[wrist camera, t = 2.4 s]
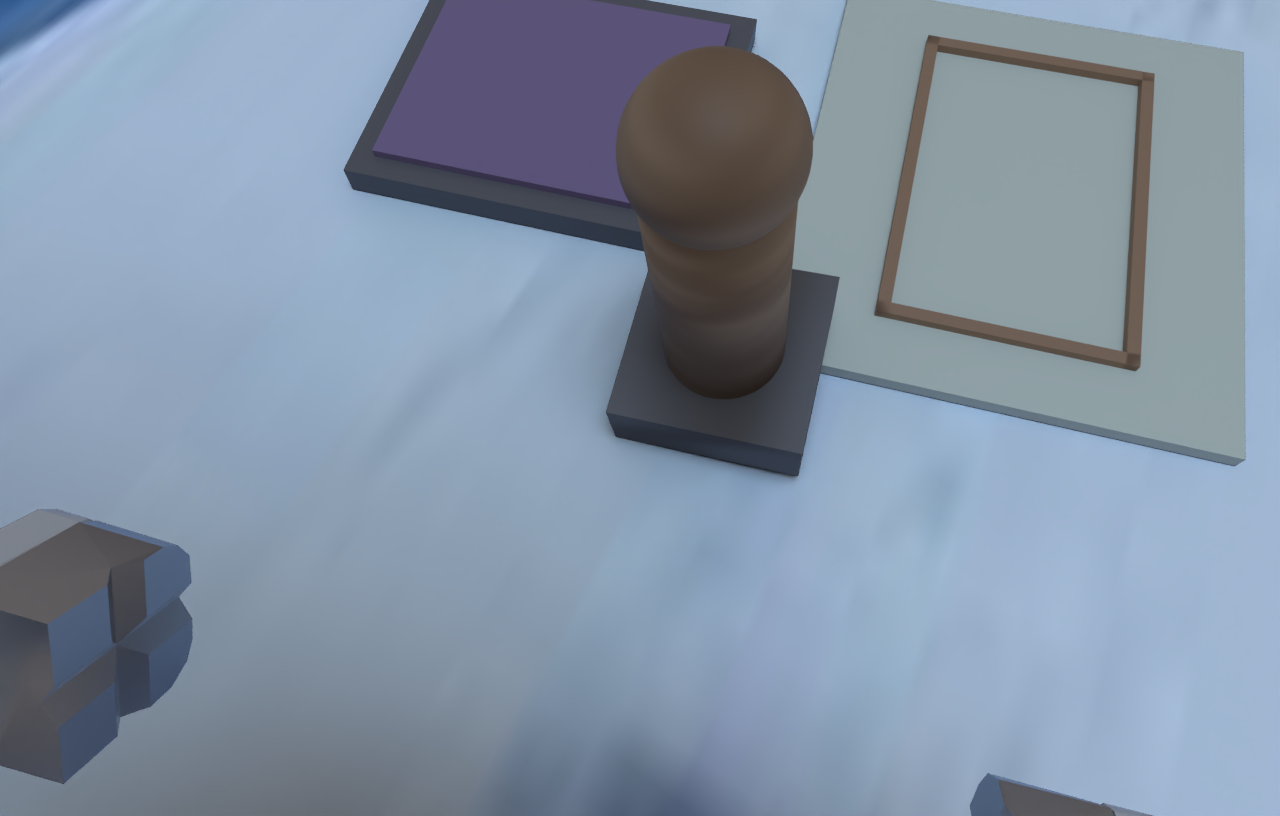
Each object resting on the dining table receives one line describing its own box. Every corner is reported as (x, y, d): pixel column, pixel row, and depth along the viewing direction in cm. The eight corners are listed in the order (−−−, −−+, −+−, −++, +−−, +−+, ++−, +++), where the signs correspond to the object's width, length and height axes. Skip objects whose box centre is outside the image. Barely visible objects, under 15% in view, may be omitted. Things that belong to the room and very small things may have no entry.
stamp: (616, 436, 27) (514, 189, 15) (661, 278, 28) (602, -51, 17) (798, 476, 26) (838, 242, 14) (833, 309, 27) (895, -20, 16)
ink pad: (353, 188, 31) (340, 164, 30) (452, -13, 35) (445, -41, 34) (689, 260, 29) (690, 236, 28) (754, 41, 33) (757, 12, 32)
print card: (760, 359, 28) (762, 346, 27) (848, -2, 34) (852, -20, 33) (1235, 466, 26) (1251, 455, 25) (1235, 62, 32) (1248, 45, 31)
